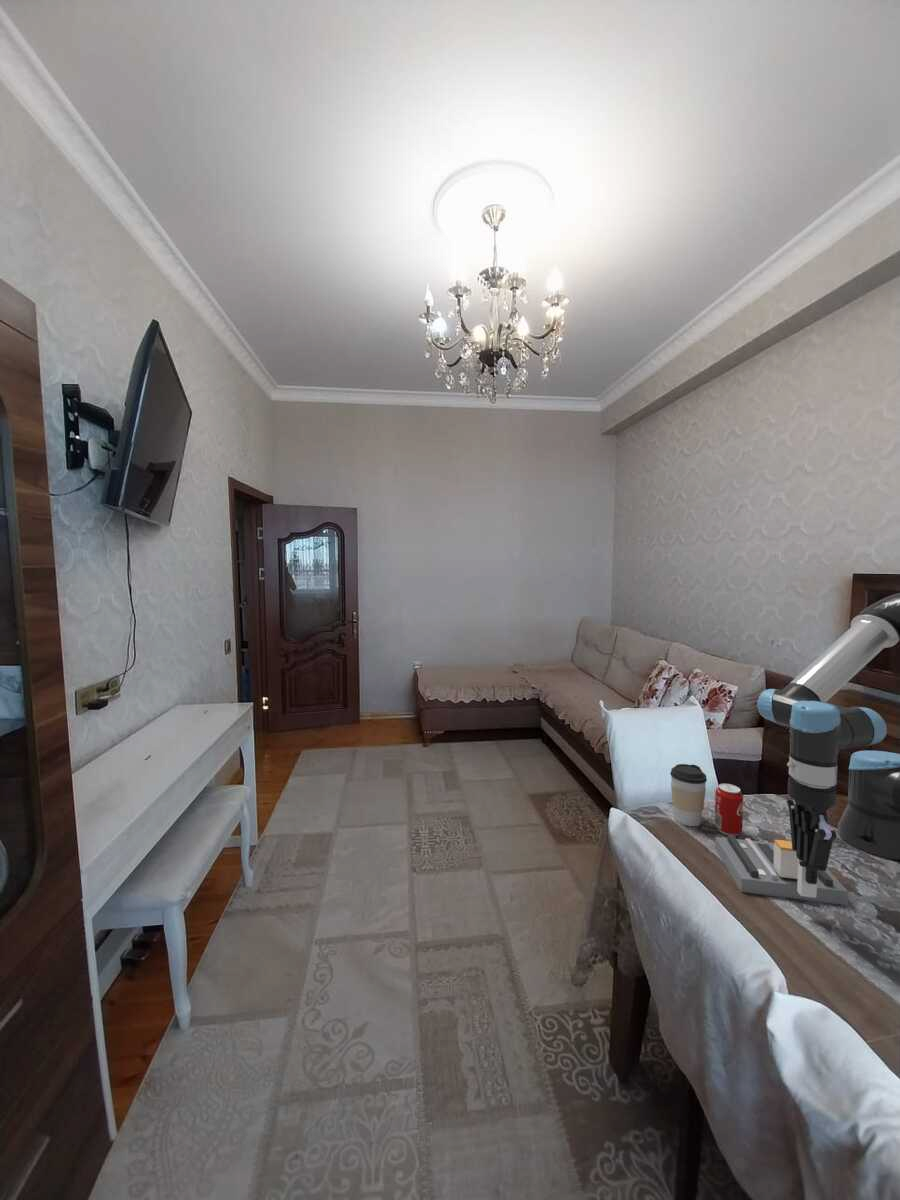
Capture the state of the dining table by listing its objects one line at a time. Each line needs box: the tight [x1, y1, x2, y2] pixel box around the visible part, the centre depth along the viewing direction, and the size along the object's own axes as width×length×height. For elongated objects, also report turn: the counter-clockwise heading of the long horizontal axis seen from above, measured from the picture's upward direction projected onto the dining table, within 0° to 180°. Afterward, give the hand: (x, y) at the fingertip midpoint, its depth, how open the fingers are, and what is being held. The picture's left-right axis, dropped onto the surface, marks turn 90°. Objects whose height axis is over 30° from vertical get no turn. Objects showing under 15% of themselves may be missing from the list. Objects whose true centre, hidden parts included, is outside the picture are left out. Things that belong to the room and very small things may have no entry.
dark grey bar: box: [817, 870, 833, 887], centre depth 104 cm, size 2×14×4 cm, turn 168°
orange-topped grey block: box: [773, 839, 799, 879], centre depth 100 cm, size 4×3×7 cm
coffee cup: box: [669, 763, 708, 827], centre depth 129 cm, size 9×9×15 cm
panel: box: [714, 836, 849, 906], centre depth 106 cm, size 20×16×4 cm
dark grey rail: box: [726, 835, 759, 878], centre depth 107 cm, size 2×14×4 cm, turn 168°
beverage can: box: [714, 783, 744, 837], centre depth 123 cm, size 6×6×12 cm
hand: (806, 894), depth 93 cm, fingers closed
